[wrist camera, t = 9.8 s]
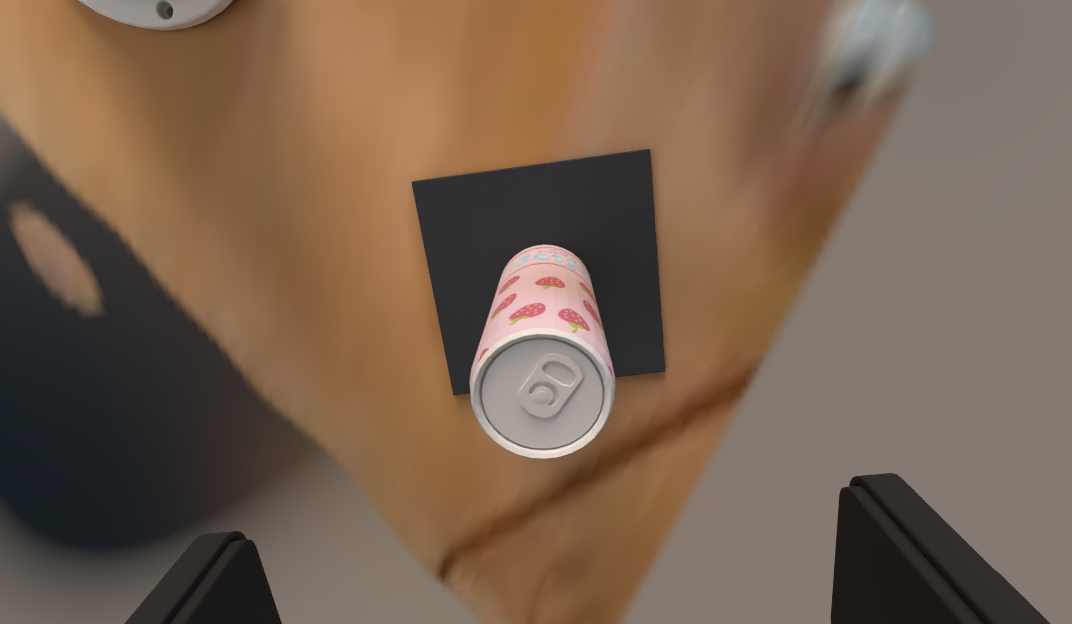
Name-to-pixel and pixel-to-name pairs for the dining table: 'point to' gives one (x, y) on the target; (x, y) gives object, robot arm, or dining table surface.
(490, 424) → the beverage can
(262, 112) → the dining table surface
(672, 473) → the dining table surface
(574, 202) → the mat
